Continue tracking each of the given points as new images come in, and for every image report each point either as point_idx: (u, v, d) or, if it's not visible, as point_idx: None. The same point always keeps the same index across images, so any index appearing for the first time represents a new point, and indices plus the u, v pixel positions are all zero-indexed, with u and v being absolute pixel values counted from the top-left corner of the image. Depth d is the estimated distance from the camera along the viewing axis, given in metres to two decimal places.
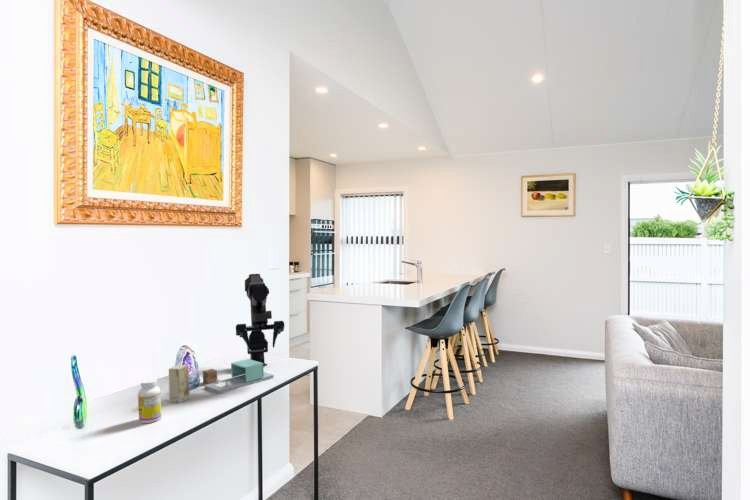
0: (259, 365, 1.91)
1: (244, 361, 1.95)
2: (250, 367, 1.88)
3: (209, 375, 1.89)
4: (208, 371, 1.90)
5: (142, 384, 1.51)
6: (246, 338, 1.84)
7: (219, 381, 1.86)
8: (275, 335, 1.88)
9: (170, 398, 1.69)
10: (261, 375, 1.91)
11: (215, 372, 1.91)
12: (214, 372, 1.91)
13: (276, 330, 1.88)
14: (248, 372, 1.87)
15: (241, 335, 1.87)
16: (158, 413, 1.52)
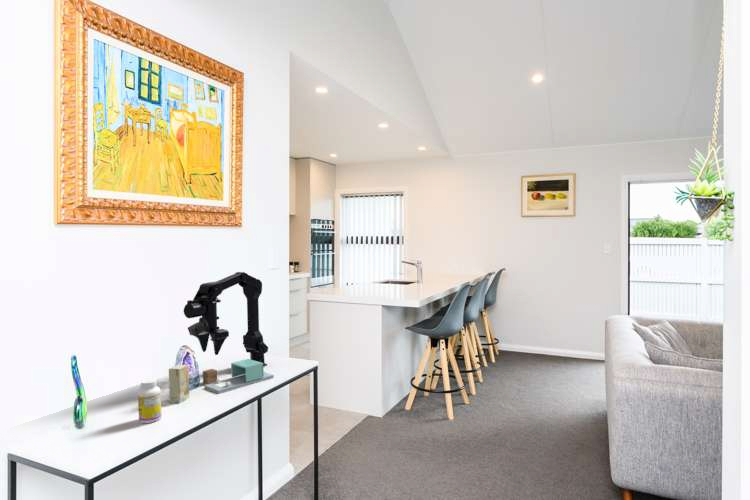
0: (259, 365, 1.91)
1: (244, 361, 1.95)
2: (250, 367, 1.88)
3: (209, 375, 1.89)
4: (208, 371, 1.90)
5: (142, 384, 1.51)
6: (200, 341, 1.93)
7: (219, 381, 1.86)
8: (214, 344, 1.86)
9: (170, 398, 1.69)
10: (261, 375, 1.91)
11: (215, 372, 1.91)
12: (214, 372, 1.91)
13: (212, 340, 1.85)
14: (248, 372, 1.87)
15: None
16: (158, 413, 1.52)
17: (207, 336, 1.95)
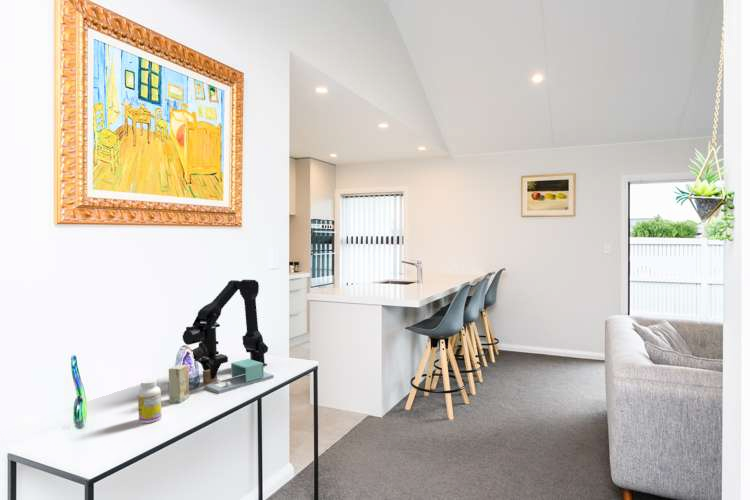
0: (259, 365, 1.91)
1: (244, 361, 1.95)
2: (250, 367, 1.88)
3: (209, 375, 1.89)
4: (208, 371, 1.90)
5: (142, 384, 1.51)
6: (203, 366, 1.92)
7: (219, 381, 1.86)
8: (210, 369, 1.88)
9: (170, 398, 1.69)
10: (261, 375, 1.91)
11: None
12: None
13: (209, 365, 1.87)
14: (248, 372, 1.87)
15: None
16: (158, 413, 1.52)
17: None
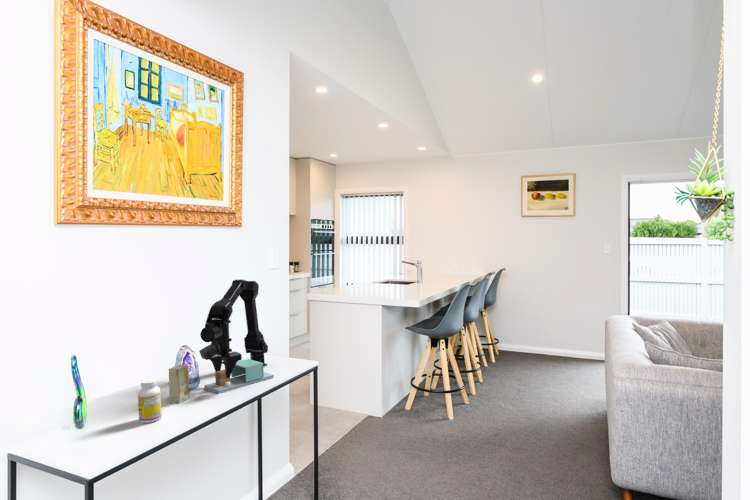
0: (259, 365, 1.91)
1: (244, 361, 1.95)
2: (250, 367, 1.88)
3: (222, 376, 1.82)
4: (221, 372, 1.83)
5: (142, 384, 1.51)
6: (213, 364, 1.87)
7: None
8: (226, 367, 1.80)
9: (170, 398, 1.69)
10: (261, 375, 1.91)
11: None
12: None
13: (224, 364, 1.79)
14: (248, 372, 1.87)
15: None
16: (158, 413, 1.52)
17: (221, 358, 1.89)
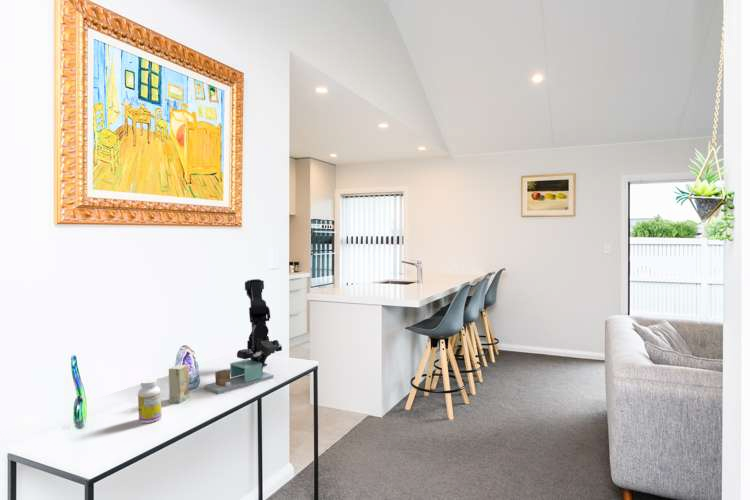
0: (258, 365, 1.90)
1: (243, 361, 1.95)
2: (249, 367, 1.87)
3: (222, 376, 1.82)
4: (221, 372, 1.83)
5: (142, 384, 1.51)
6: (260, 361, 1.96)
7: None
8: (264, 360, 1.97)
9: (170, 398, 1.69)
10: (260, 375, 1.91)
11: (228, 373, 1.84)
12: (227, 373, 1.84)
13: (266, 356, 1.97)
14: (247, 372, 1.87)
15: None
16: (158, 413, 1.52)
17: None
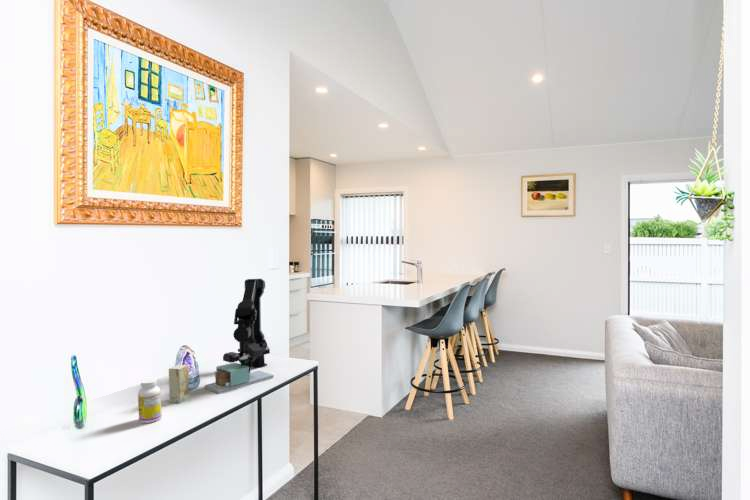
0: (245, 369, 1.86)
1: (230, 365, 1.90)
2: (235, 371, 1.83)
3: (222, 376, 1.82)
4: (221, 372, 1.83)
5: (142, 384, 1.51)
6: (247, 365, 1.91)
7: None
8: (251, 363, 1.93)
9: (170, 398, 1.69)
10: (247, 379, 1.86)
11: (228, 373, 1.84)
12: (227, 373, 1.84)
13: (253, 359, 1.92)
14: (233, 376, 1.82)
15: None
16: (158, 413, 1.52)
17: None
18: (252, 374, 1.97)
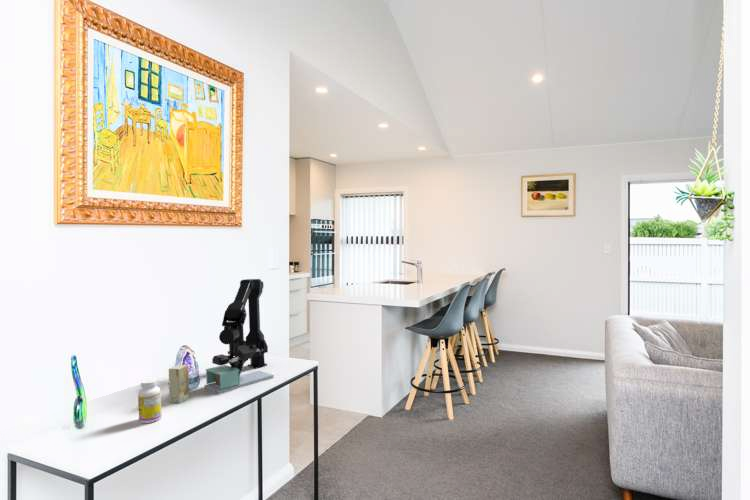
0: (235, 371, 1.82)
1: (220, 367, 1.87)
2: (225, 374, 1.79)
3: None
4: None
5: (142, 384, 1.51)
6: (237, 367, 1.88)
7: None
8: (241, 366, 1.89)
9: (170, 398, 1.69)
10: (237, 382, 1.83)
11: None
12: None
13: (243, 362, 1.89)
14: (223, 378, 1.79)
15: None
16: (158, 413, 1.52)
17: None
18: (252, 374, 1.97)
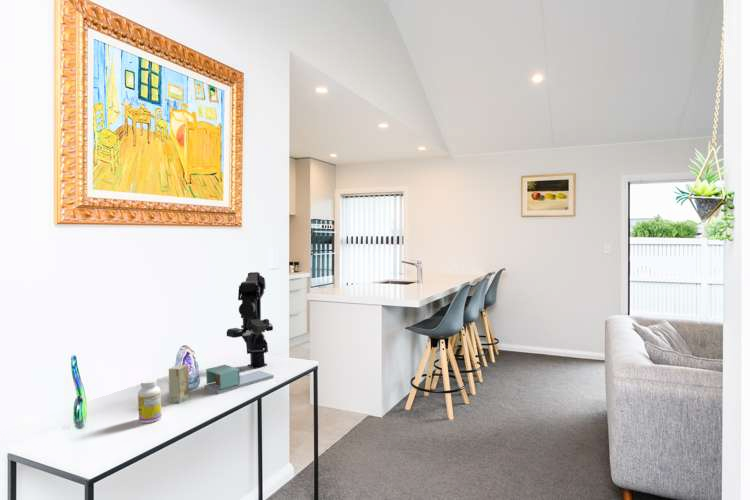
0: (235, 371, 1.82)
1: (220, 367, 1.87)
2: (225, 374, 1.79)
3: None
4: None
5: (142, 384, 1.51)
6: (250, 341, 1.92)
7: None
8: (255, 339, 1.94)
9: (170, 398, 1.69)
10: (237, 382, 1.83)
11: None
12: None
13: (257, 335, 1.94)
14: (223, 378, 1.79)
15: None
16: (158, 413, 1.52)
17: None
18: (252, 374, 1.97)
